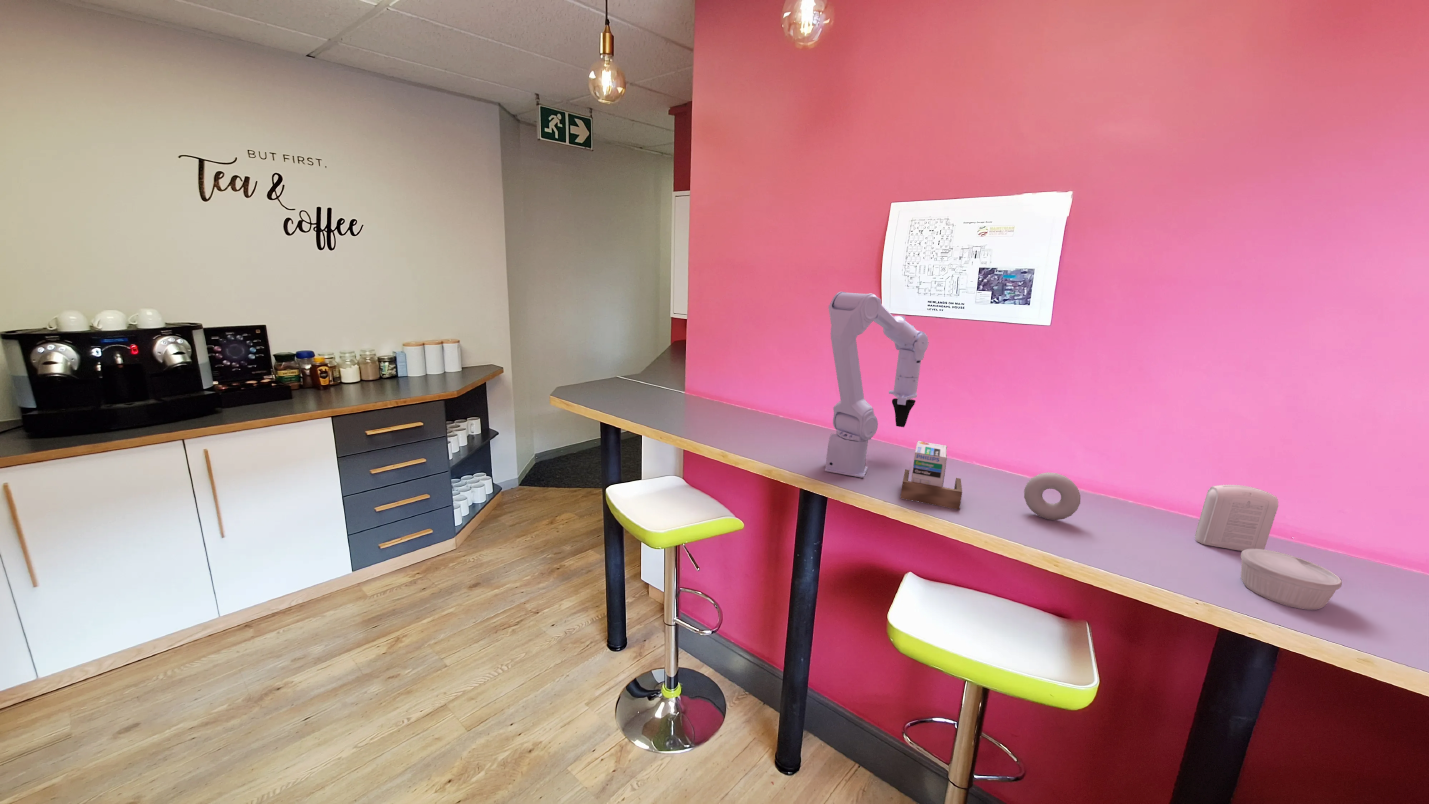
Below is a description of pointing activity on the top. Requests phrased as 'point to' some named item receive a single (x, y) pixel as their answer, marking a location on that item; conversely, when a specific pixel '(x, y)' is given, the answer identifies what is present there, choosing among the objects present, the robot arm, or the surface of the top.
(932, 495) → the walnut sleeve
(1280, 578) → the ramekin
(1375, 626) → the top surface
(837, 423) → the robot arm
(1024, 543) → the top surface
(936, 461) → the light bulb box
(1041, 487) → the donut
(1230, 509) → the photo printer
